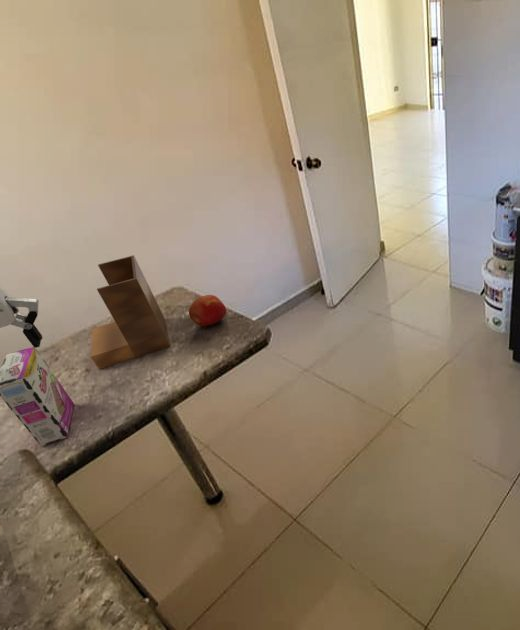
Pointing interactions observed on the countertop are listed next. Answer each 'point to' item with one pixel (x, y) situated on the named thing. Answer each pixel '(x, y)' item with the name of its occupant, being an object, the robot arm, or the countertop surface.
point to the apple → (207, 310)
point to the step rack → (127, 316)
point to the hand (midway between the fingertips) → (7, 353)
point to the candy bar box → (36, 396)
